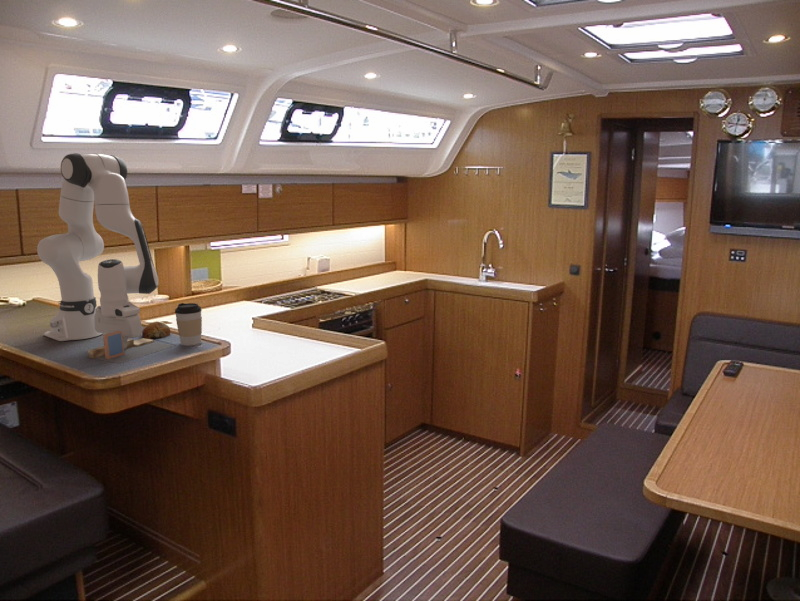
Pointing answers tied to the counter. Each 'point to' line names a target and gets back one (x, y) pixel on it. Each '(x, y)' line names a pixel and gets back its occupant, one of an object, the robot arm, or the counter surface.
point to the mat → (137, 352)
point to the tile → (113, 344)
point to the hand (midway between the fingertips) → (119, 347)
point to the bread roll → (155, 330)
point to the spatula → (130, 343)
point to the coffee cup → (189, 323)
